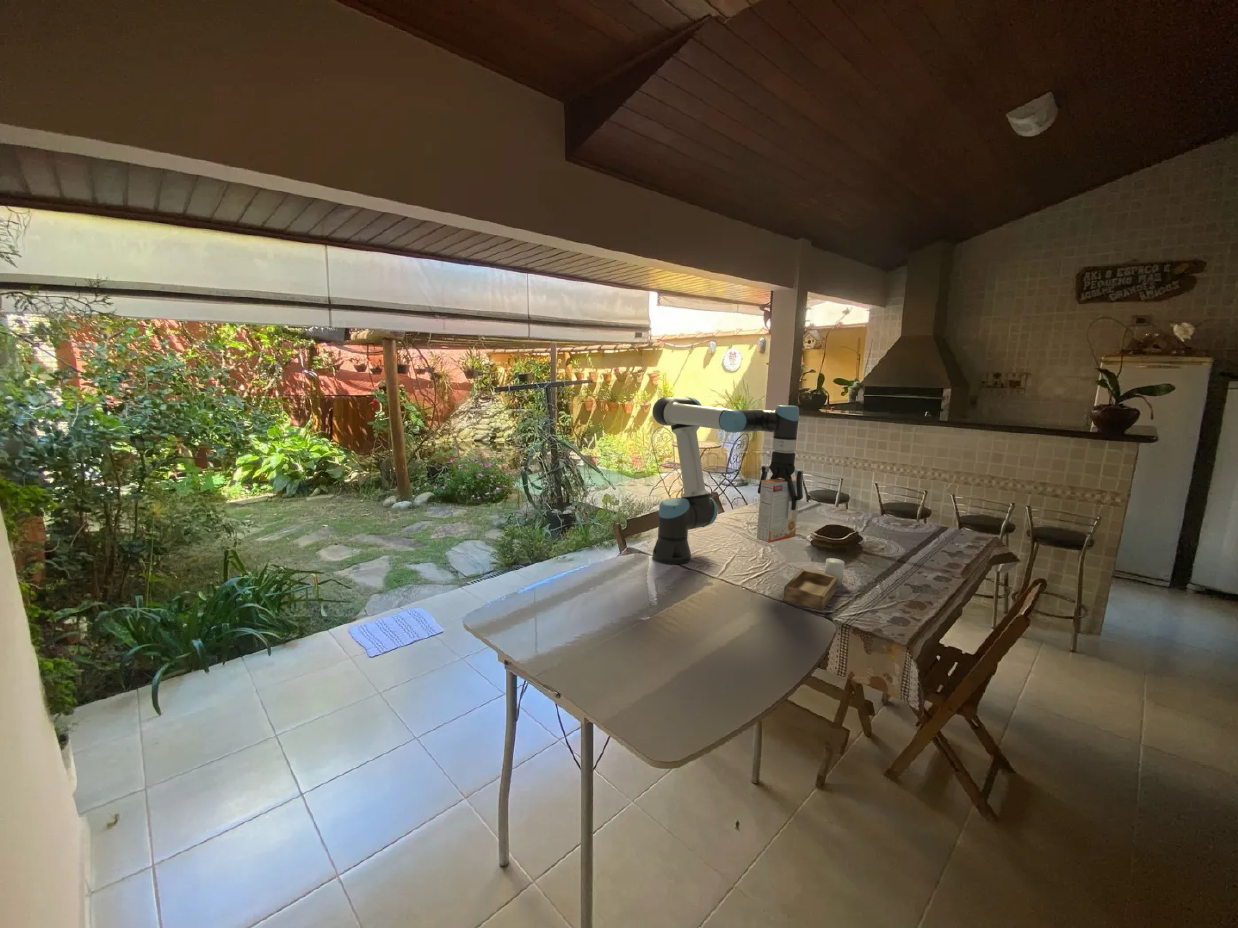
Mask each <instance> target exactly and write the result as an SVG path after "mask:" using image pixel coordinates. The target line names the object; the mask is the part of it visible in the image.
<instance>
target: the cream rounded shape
mask: <svg viewBox="0 0 1238 928" xmlns="http://www.w3.org/2000/svg"><path fill="white" fill-rule="evenodd" d="M824 565H825V567H824V574H825V575H830V576H834V577H838V583H837V587H842V586H843V582H844V581H843V580H844V572H845V571H844V570H845V561H844V560H842V559H839V558H831V557H829V558H826V560H825V564H824Z"/></svg>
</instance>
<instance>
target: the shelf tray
mask: <svg viewBox="0 0 1238 928" xmlns="http://www.w3.org/2000/svg"><path fill="white" fill-rule="evenodd" d="M837 583H838V577H834V576H830V575H825V573H820V572H817V571H811V570H809V569H803V568H801V569H800V571H798V572H797V573H796V574H795V575H794V576H793V578H792V579H790V581H788V582H787V583H786V584H785V586H784V588H783V598H782V599H783V601H787V602H789V603H794V604H796V605H801V606H804V607H807V608H811V609H815V610H819V611H824V610H825V607H826V606H827V605H828V603H829V602H830V601H831V599H832V597H833V596H834V595H835V594H836V592H837V591H838V586H837Z"/></svg>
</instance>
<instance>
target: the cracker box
mask: <svg viewBox="0 0 1238 928" xmlns="http://www.w3.org/2000/svg"><path fill="white" fill-rule="evenodd" d="M792 482H793V486H794V489H795V492H796V495H797V484H796V478H794V477H792ZM787 484H788V483H787V482H786V481H785V479H782V478H776V479H766V480H761V491H760V494H759V503H758V506H759V507H758V519H757V531H756V539H758V540H759V541H760V540H761V541H763V542H765V543H768V544H769V543H774V542H777V541H778V542H779V541H782V540H787V539H791V538H795V537H796V530H797V522H798V521H797V519H798V511H799V501H800V500H797V503H796V509H795V510H793V513H792V519H790V520H787V519H788V508H789V501H790V500H792V499H791V496H790V493H789V489H788V486H787Z"/></svg>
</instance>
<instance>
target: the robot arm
mask: <svg viewBox="0 0 1238 928" xmlns="http://www.w3.org/2000/svg"><path fill="white" fill-rule="evenodd" d="M799 415H800V408H799V406H797V405H787V404H783V405H781V404H777V405H776V407H775V410H773V409H772V410H770V409H760V408H748V409H738V408H737V409H736V408H723V407H717V406H716V407H715V406H714V407H713V406H707V405H706V406H705V405H702V404H701V402H700V401H699V400H698V399H696V398H695V397H689V396H664V397H661V398H658V400H657V401H656V402H654V405H653V407H652V416H653V419H654V420H655V422H657V424H659V425H661V426H670V428H671V429H670V430H671V432H672V434H674V435H675V439H676V444H677V445H676V446H677V451H678V460H679V465H680V466H679V467H680V472H681V477H682V478H681V480H682V485H683V486H682V487H683V493H682V495H681V496H680V497H670V498H666V499H663V500H662V501H661V502H660V503H659V506H658V507H659V508H658V522H657V524H658V525H657V529H658V530H657V539H656V542H655V545H654V546H653V550H652V559H653V560H654V561H656V562H659V563H662V564H666V565H684V564H687V563H689V562H691V560H692V552H691V548H690V544H689V542H688V534H689V530H695V529H699V528H705V527H707V526H710V525H712V524H713V523H714V522H715V521H716V520H717V517H718V514H719V510H718V505H717V502H716V501H715V499H713V498H712V497H711V496H710V492H709V491H707V489H706V488H705V487H706V486H705V480H704V479H705V478H704V474H703V465H702V459H701V453H700V445H699V439H698V430H699V429H700V428H706V429H707V428H708V429H714V430H721V431H724V432H726V433H732V434H733V433H735V434H736V433H743V432H744V433H746V432H747V433H748V432H768V433H773V437H772V439H773V440H772V450H773V451H772V452H771V461H770V465H763V466H761V467H760V468H761V475H760V480H759V484H758V487H757V494H759V495H760V491H761V480H767V477H768V473H769V471H771V473H772V474H771V476H770V479H776V478H782V479H785V481H786V482H787V483H788V484H787V486H788V489H789V493H790V496H791V499H792V500H790V501H789V508H788V519H787V520H790V519H792V513H793V510H795V509H796V503H797V500H799V501H801V500H802V499H803V498H804V491H803V488H804V487H803V475H804V470H802V469H801V470H800V469H796V466H795V462H796V453H795V452H796V450H797V441H798V439H797V437H798V429H799V422H800V416H799ZM793 474H795V475H794V476H796V478H795V479H796V484H797V495H796V492H795V489H794V486H793V482H792V478H793V477H792V475H793Z"/></svg>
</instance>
